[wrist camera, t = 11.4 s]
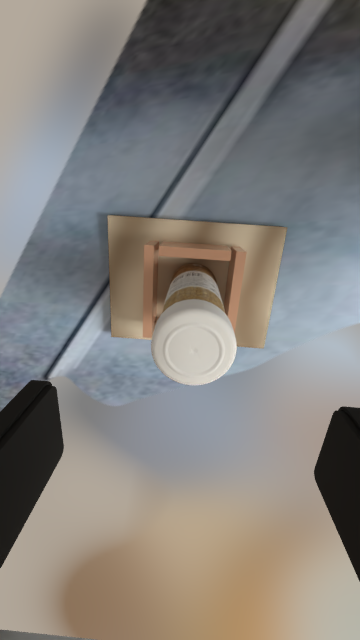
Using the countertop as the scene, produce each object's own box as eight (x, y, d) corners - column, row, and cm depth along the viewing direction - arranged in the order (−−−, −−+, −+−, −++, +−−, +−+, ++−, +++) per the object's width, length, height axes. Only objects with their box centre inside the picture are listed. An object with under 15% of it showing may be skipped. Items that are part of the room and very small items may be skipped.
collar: (239, 246, 25) (246, 251, 22) (228, 329, 28) (232, 344, 25) (150, 240, 25) (143, 244, 22) (148, 322, 28) (142, 337, 25)
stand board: (283, 226, 26) (287, 227, 24) (261, 343, 30) (263, 348, 29) (111, 215, 26) (107, 215, 25) (114, 332, 30) (111, 336, 29)
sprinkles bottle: (169, 306, 28) (149, 386, 15) (170, 260, 26) (149, 307, 14) (215, 308, 28) (233, 391, 15) (219, 262, 26) (243, 312, 13)
